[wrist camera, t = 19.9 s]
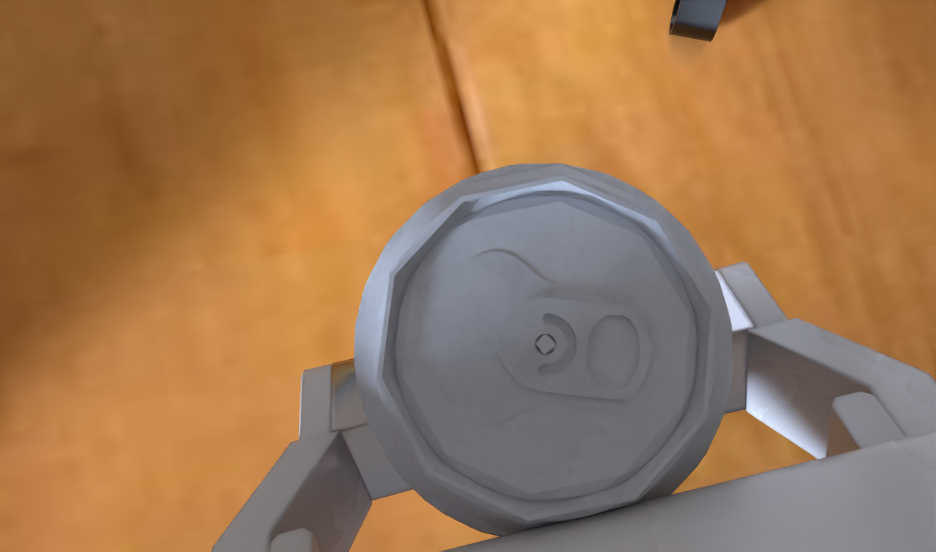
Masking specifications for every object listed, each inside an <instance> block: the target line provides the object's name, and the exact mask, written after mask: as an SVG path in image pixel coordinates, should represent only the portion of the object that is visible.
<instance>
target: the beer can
mask: <svg viewBox="0 0 936 552" xmlns="http://www.w3.org/2000/svg"><path fill="white" fill-rule="evenodd" d="M354 368H355V374H356V380H357V386H358V390H359V393H360V397H361V401H362V406H363V411H364V414H365V417H366V419H367V422H368V425H369V427H370V429H371V431H372V433H373V434H374V436H375V438H376V439H377V441H378V443H379V444H380V446H381V448H382V449H383V451H384V453H385V454H386V456H387V458H388V459H389V461H390V463H391V465H392V466H393V468H394V469H395V470H396V472H397V473H398V474H399V475H400V476H401V477H402V478H403V479H404V480H405V481H406V482H407V483H408V484H409V485H410V486H411V487H412V488H413V489H414V490H415V491H416V492H417V493H418V494H419V495H420V496H421V497H422V498H423V499H424V500H425V501H427V502H428V503H430V504H431V505H432V506H434V507H435V508H437V509H438V510H439V511H441V512H442V513H444V514H445V515H447V516H449V517H451V518H453V519H455V520H457V521H459V522H461V523H463V524H465V525H467V526H469V527H471V528H473V529H476V530H478V531H480V532H484V533H488V534H492V535H496V536H505V535H509V534H513V533H517V532H521V531H525V530H529V529H533V528H538V527H542V526H546V525H550V524H554V523H558V522H562V521H570V520H574V519H578V518H582V517H585V516H589V515H593V514H597V513H600V512H604V511H608V510H611V509H615V508H619V507H624V506H628V505H632V504H636V503H640V502H644V501H648V500H652V499H656V498H660V497H664V496H669V495H671V494H672V493H673V492H674V491H675V490H676V489H677V488H678V487H679V485H680V484H681V483H682V482H683V481H684V480H685V479H686V478H687V477H688V476H689V475H690V474H691V473H692V472H693V470H694V469H695V468H696V467H697V466H698V464H699V463H700V462H701V460H702V459H703V457H704V456H705V454H706V453H707V451H708V449H709V447H710V444H711V442H712V440H713V438H714V436H715V434H716V432H717V429H718V427H719V425H720V422H721V420H722V418H723V415H724V413H725V410H726V407H727V403H728V397H729V392H730V386H731V381H732V376H733V343H732V324H731V320H730V316H729V312H728V308H727V305H726V302H725V298H724V295H723V292H722V288H721V285H720V282H719V280H718V278H717V276H716V274H715V272H714V270H713V268H712V266H711V264H710V263H709V261H708V260H707V258H706V257H705V255H704V254H703V252H702V251H701V249H700V248H699V246H698V244H697V243H696V241H695V240H694V238H693V237H692V235H691V234H690V232H689V231H688V230H687V229H686V228H685V227H684V226H683V225H682V224H681V223H680V222H679V221H678V220H677V219H676V218H675V217H674V216H673V215H672V214H671V213H670V212H669V211H668V210H667V209H665V208H664V207H663V206H662V205H661V204H660V203H658V202H657V201H656V200H655V199H653V198H652V197H650V196H648V195H647V194H645V193H644V192H642V191H640V190H639V189H637V188H635V187H633V186H631V185H629V184H627V183H625V182H623V181H621V180H619V179H617V178H615V177H613V176H611V175H608V174H605V173H602V172H598V171H594V170H589V169H584V168H580V167H575V166H570V165H566V164H561V163H556V164H516V165H510V166H506V167H502V168H498V169H494V170H490V171H486V172H482V173H480V174H477V175H474V176H472V177H469V178H466V179H464V180H462V181H460V182H458V183H457V184H455V185H453V186H452V187H450V188H448V189H447V190H445V191H444V192H442V193H440V194H439V195H437V196H435V197H434V198H432V199H430V200H429V201H427V202H426V203H425V204H423V206H422V207H421V208H420V209H419V210H418V211H417V212H416V213H415V214H414V215H413V216H412V217H411V218H410V219H409V220H408V221H407V222H406V223H405V224H404V225H403V226H402V227H401V228H400V229H399V230H398V231H397V232H396V233H395V234H394V235H393V236H392V238H391V239H390V240H389V242H388V243H387V244H386V246H385V248H384V249H383V251H382V253H381V255H380V257H379V259H378V261H377V263H376V265H375V267H374V269H373V270H372V272H371V274H370V276H369V278H368V281H367V283H366V285H365V288H364V292H363V296H362V300H361V304H360V308H359V313H358V317H357V321H356V325H355V350H354Z"/></svg>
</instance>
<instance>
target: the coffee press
mask: <svg viewBox="0 0 936 552" xmlns="http://www.w3.org/2000/svg"><path fill="white" fill-rule="evenodd" d="M726 1H727V0H675V4H674V8H673V12H672V17H671V22H670V28H669V34H670V35H676V36H681V37H687V38H692V39H698V40H703V41H709V42H711V41H712V40H713V38H714V35H715V33H716V30H717V27H718V24H719V21H720V19H721V16H722V13H723V10H724V7H725V4H726Z"/></svg>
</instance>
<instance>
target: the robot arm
mask: <svg viewBox="0 0 936 552" xmlns="http://www.w3.org/2000/svg"><path fill="white" fill-rule="evenodd" d="M714 272H715V274H716V276H717V278H718V280H719V282H720V285H721V288H722V292H723V295H724V298H725V302H726V305H727V308H728V312H729V316H730V320H731V324H732V343H733V376H732V381H731V386H730V392H729V397H728V403H727V407H726V410H725V413H724V414H726V413H730V412H735V411H740V410H744V409H747V410H746V411H747V412H748V413H750V414H751V415H753V416H754V417H756V418H757V419H759V420H760V421H762V422H763V423H765V424H766V425H768V426H769V427H771V428H772V429H774V430H775V431H777V432H778V433H780V434H781V435H783V436H784V437H786V438H787V439H789V440H790V441H792V442H794V443H795V444H797V445H798V446H800V447H801V448H803V449H804V450H806V451H807V452H809V453H810V454H812V455H813V456H815V457H816V458H818V459H817V460H813V461H809V462H805V463H801V464H797V465H792V466H788V467H784V468H780V469H776V470H772V471H768V472H764V473H759V474H755V475H751V476H747V477H743V478H739V479H735V480H731V481H726V482H722V483H718V484H714V485H710V486H706V487H702V488H697V489H693V490H689V491H685V492H681V493H677V494H673V495H669V496H664V497H660V498H656V499H652V500H648V501H644V502H640V503H636V504H632V505H628V506H624V507H619V508H615V509H611V510H608V511H604V512H600V513H597V514H593V515H589V516H585V517H582V518H578V519H574V520H570V521H562V522H558V523H554V524H550V525H546V526H542V527H538V528H533V529H529V530H525V531H521V532H517V533H513V534H509V535H505V536H501V537H497V538H493V539H489V540H484V541H480V542H476V543H472V544H468V545H464V546H460V547H456V548H452V549H448V550H443V551H439V552H936V381H935V380H934V379H933V378H932V377H931V376H930V374H929V373H927V372H924V371H922V370H920V369H917V368H915V367H912V366H910V365H908V364H905V363H903V362H901V361H898V360H896V359H893V358H891V357H889V356H886V355H884V354H882V353H879V352H877V351H874V350H872V349H870V348H867V347H865V346H863V345H860V344H858V343H855V342H853V341H851V340H848V339H846V338H844V337H841V336H839V335H836V334H834V333H832V332H829V331H827V330H825V329H822V328H820V327H817V326H815V325H813V324H810V323H808V322H806V321H803V320H801V319H799V318H794V319H790V320H788V318H787V317H786V315H785V314H784V313H783V311H782V310H781V308H780V307H779V306H778V304H777V303H776V301H775V300H774V299H773V297H772V296H771V295H770V293H769V292H768V290H767V289H766V288H765V286H764V285H763V283H762V282H761V281H760V279H759V278H758V276H757V275H756V274H755V272H754V271H753V269H752V268H751V267H750V265H749V264H747V263H746V262H744V261H743V262H740V263H736V264H732V265H728V266H725V267H721V268H717V269H715V270H714ZM409 490H413V488H412V487H411V486H410V485H409V484H408V483H407V482H406V481H405V480H404V479H403V478H402V477H401V476H400V475H399V474H398V473H397V472H396V470H395V469H394V468H393V466H392V465H391V463H390V461H389V459H388V458H387V456H386V454H385V453H384V451H383V449H382V448H381V446H380V444H379V443H378V441H377V439H376V438H375V436H374V434H373V433H372V431H371V429H370V427H369V425H368V422H367V419H366V417H365V414H364V411H363V406H362V401H361V397H360V393H359V390H358V386H357V380H356V374H355V368H354V358H353V359H349V360H344V361H340V362H335V363H333V364H329V365H324V366H320V367H315V368H311V369H307V370H304V372H303V374H302V376H301V397H300V423H299V440H298V441H294V442H291V443H290V444H289V445H288V447H287V448H286V449H285V451H284V452H283V453H282V455H281V456H280V458H279V459H278V460H277V462H276V463H275V464H274V466H273V467H272V468H271V470H270V471H269V472H268V474H267V475H266V476H265V478H264V479H263V480H262V482H261V483H260V484H259V486H258V487H257V488H256V490H255V491H254V492H253V494H252V495H251V496H250V498H249V499H248V500H247V502H246V503H245V504H244V506H243V507H242V508H241V510H240V511H239V512H238V514H237V515H236V516H235V518H234V519H233V521H232V522H231V523H230V525H229V526H228V527H227V529H226V530H225V531H224V533H223V534H222V535H221V537H220V538H219V539H218V541H217V542H216V543H215V545H214V546H213V547H212V552H349V550H350V548H351V546H352V544H353V542H354V539H355V537H356V535H357V533H358V531H359V529H360V527H361V525H362V523H363V521H364V519H365V517H366V515H367V513H368V511H369V509H370V507H371V505H372V502H371V501H373V500H376V499H380V498H384V497H387V496H391V495H395V494H398V493H402V492H405V491H409Z"/></svg>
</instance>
